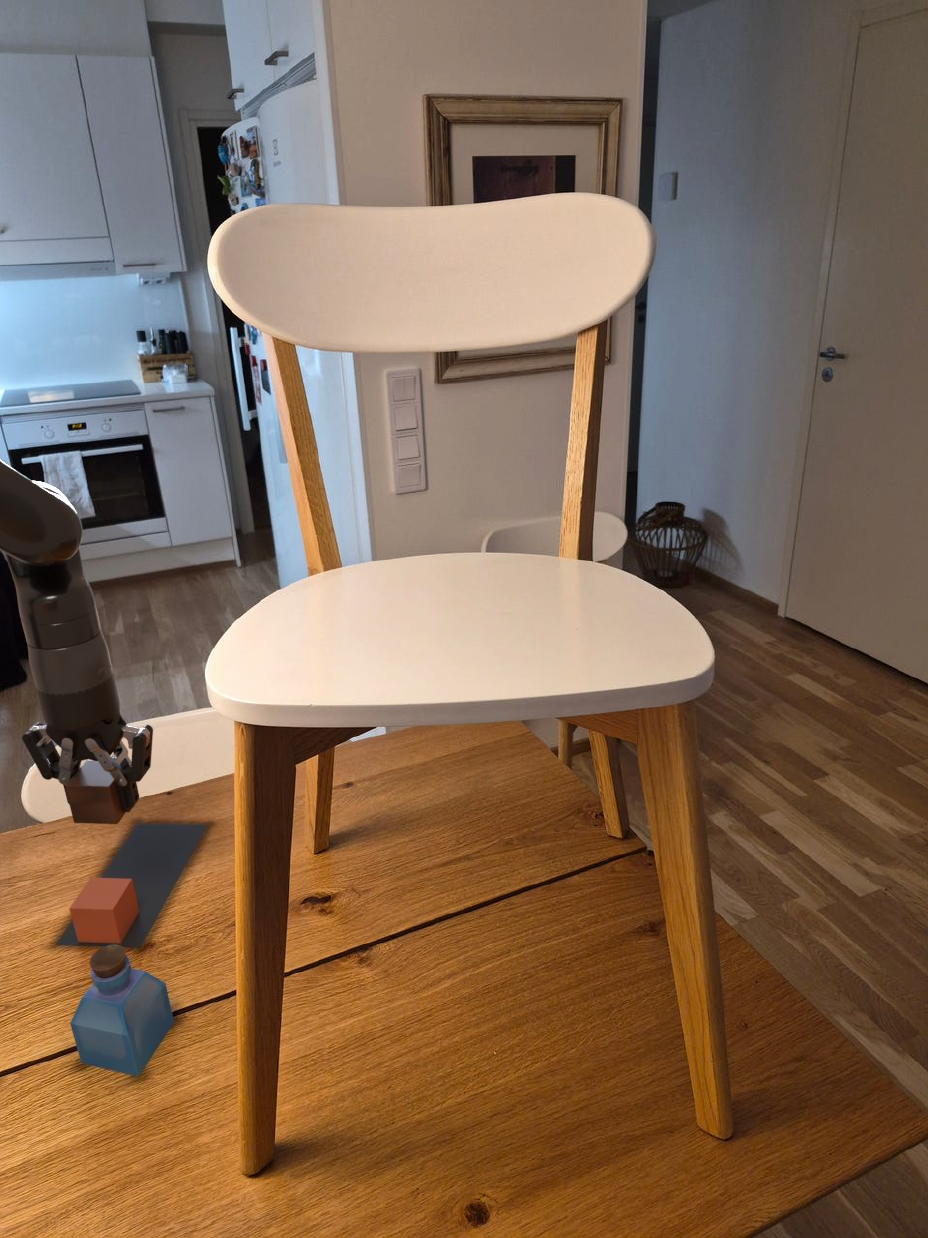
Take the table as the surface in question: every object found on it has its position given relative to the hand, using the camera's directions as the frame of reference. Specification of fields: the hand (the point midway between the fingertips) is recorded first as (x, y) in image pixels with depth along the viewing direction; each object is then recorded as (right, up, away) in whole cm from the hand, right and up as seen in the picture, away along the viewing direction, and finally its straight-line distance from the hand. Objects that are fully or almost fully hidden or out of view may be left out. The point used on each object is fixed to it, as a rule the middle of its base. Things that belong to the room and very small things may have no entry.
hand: (105, 806), depth 93 cm
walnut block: (0, 0, 0) cm, 0 cm away
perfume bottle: (+7, -22, -11) cm, 25 cm away
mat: (0, -12, +10) cm, 16 cm away
